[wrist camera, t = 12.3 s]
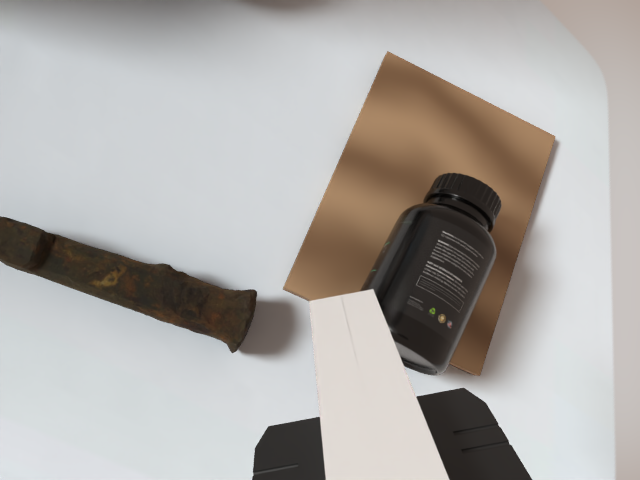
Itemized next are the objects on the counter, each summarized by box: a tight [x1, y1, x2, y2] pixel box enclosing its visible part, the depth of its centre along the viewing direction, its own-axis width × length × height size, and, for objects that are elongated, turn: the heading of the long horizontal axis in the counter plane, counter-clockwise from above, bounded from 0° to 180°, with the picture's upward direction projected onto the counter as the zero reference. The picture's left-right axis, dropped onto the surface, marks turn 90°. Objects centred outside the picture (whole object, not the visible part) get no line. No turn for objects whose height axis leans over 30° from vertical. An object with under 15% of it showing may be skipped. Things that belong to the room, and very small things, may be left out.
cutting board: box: [283, 52, 555, 376], centre depth 40 cm, size 20×15×1 cm
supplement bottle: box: [360, 173, 502, 375], centre depth 35 cm, size 7×7×12 cm
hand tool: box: [0, 217, 257, 353], centre depth 33 cm, size 19×4×5 cm, turn 70°
